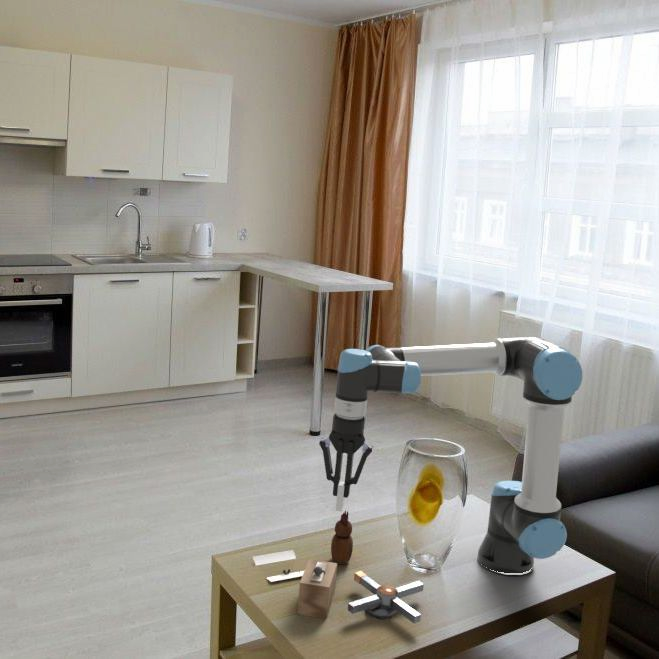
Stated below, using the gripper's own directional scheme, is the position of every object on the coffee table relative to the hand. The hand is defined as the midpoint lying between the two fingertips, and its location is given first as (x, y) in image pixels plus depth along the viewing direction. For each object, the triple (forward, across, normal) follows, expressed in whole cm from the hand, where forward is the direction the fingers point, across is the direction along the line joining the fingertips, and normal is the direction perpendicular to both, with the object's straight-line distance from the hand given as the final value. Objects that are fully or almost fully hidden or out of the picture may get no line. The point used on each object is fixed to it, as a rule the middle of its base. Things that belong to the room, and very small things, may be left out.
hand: (339, 508), depth 196 cm
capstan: (+23, +14, -2) cm, 27 cm away
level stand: (+23, -2, -5) cm, 23 cm away
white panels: (+24, -14, +9) cm, 29 cm away
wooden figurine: (+23, 0, +18) cm, 29 cm away
